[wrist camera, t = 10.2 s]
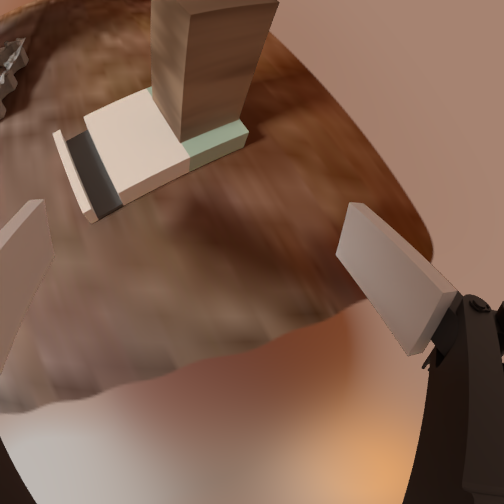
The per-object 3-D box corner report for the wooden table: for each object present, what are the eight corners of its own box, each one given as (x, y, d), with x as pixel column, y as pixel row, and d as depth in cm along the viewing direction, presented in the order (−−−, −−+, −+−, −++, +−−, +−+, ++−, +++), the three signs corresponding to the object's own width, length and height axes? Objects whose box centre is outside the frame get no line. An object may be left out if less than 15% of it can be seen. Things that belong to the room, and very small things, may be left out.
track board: (60, 148, 19) (52, 133, 17) (198, 86, 23) (200, 69, 21) (91, 224, 18) (82, 213, 17) (243, 147, 22) (249, 132, 20)
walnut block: (152, 99, 19) (151, -22, 10) (207, 79, 21) (231, -33, 11) (180, 143, 19) (190, 14, 9) (238, 119, 20) (279, 2, 11)
